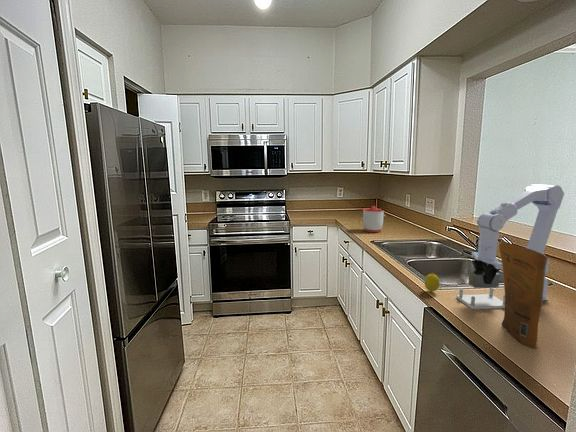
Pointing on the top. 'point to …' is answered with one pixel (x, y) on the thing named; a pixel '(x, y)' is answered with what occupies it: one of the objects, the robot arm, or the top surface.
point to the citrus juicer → (373, 219)
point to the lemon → (432, 282)
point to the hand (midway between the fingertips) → (484, 281)
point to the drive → (481, 280)
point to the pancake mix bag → (522, 291)
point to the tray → (481, 300)
